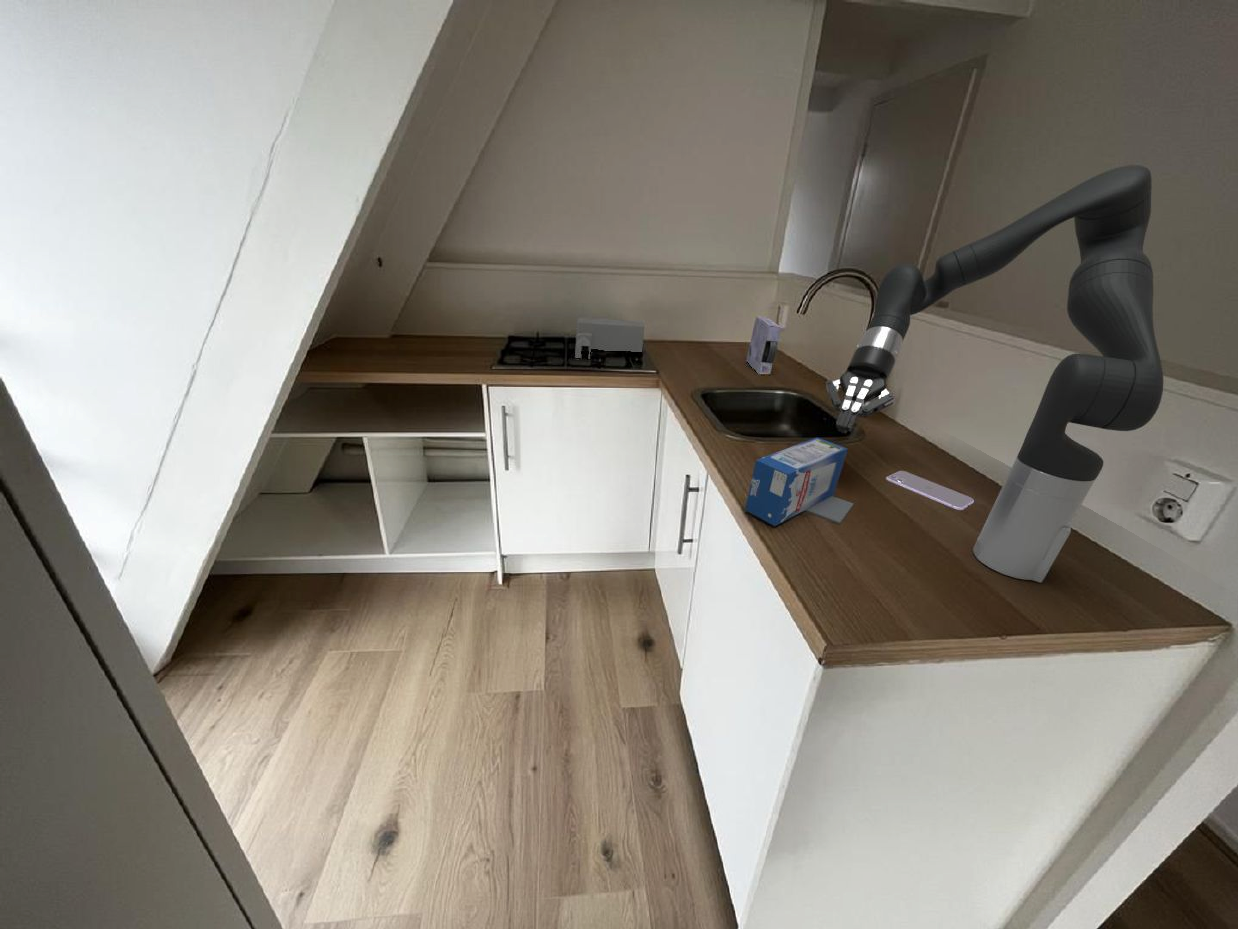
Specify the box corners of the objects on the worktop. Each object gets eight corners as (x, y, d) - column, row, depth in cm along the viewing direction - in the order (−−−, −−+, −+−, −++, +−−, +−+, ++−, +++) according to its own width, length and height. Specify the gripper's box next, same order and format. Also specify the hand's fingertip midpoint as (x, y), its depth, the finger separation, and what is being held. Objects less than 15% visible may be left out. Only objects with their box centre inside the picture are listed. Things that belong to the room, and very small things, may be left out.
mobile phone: (961, 508, 93) (884, 476, 104) (959, 512, 94) (883, 480, 104) (977, 498, 98) (901, 468, 108) (975, 502, 98) (900, 472, 109)
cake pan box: (772, 377, 173) (783, 326, 165) (758, 376, 172) (768, 325, 165) (757, 363, 190) (767, 316, 182) (745, 362, 190) (753, 315, 182)
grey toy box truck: (574, 359, 175) (575, 328, 171) (577, 345, 196) (578, 317, 192) (643, 364, 177) (646, 333, 172) (639, 349, 198) (642, 321, 193)
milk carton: (817, 436, 95) (755, 459, 83) (847, 448, 91) (788, 474, 78) (804, 482, 99) (744, 510, 87) (833, 495, 95) (774, 526, 83)
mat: (853, 505, 92) (853, 503, 92) (839, 524, 86) (840, 522, 86) (791, 483, 99) (791, 481, 99) (774, 499, 92) (774, 497, 92)
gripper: (910, 374, 96) (878, 449, 92) (840, 361, 103) (808, 430, 99) (914, 350, 90) (879, 430, 86) (840, 338, 97) (805, 411, 93)
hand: (841, 430), depth 93 cm, fingers closed
